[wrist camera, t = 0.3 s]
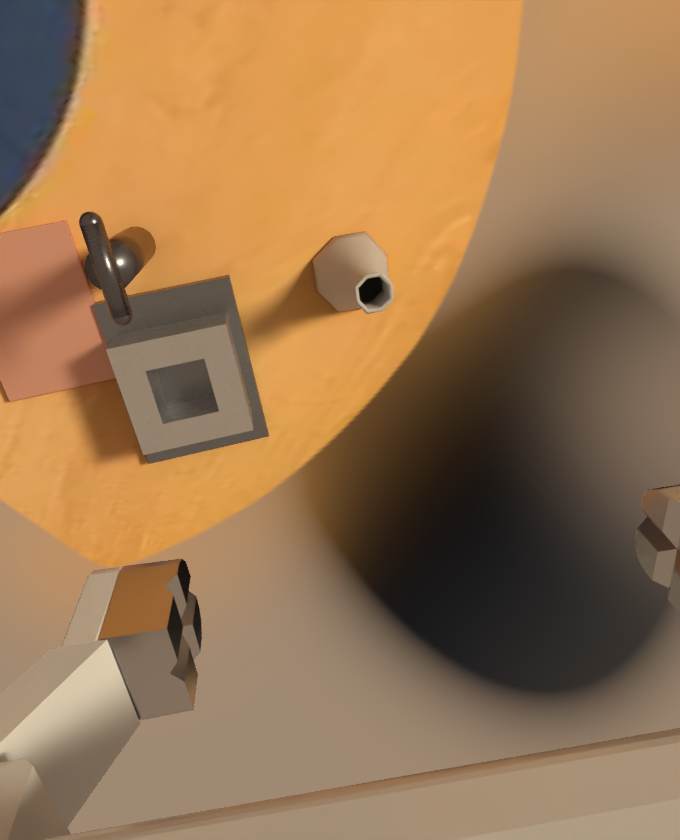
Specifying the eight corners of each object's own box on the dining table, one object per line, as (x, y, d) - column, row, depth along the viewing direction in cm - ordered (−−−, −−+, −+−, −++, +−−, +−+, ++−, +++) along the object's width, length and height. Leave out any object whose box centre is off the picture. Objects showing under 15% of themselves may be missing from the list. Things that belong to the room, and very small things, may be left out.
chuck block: (95, 302, 52) (80, 316, 47) (229, 274, 53) (228, 286, 48) (150, 459, 59) (142, 486, 54) (268, 432, 60) (271, 456, 55)
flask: (333, 324, 57) (353, 354, 48) (298, 255, 54) (312, 273, 45) (400, 288, 56) (433, 312, 47) (369, 217, 53) (397, 227, 44)
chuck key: (105, 203, 49) (60, 217, 36) (141, 196, 50) (109, 208, 37) (133, 290, 52) (101, 332, 39) (167, 283, 53) (146, 323, 40)
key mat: (-57, 244, 48) (-60, 245, 48) (66, 220, 49) (64, 221, 49) (11, 399, 54) (9, 401, 54) (120, 375, 55) (119, 377, 55)
